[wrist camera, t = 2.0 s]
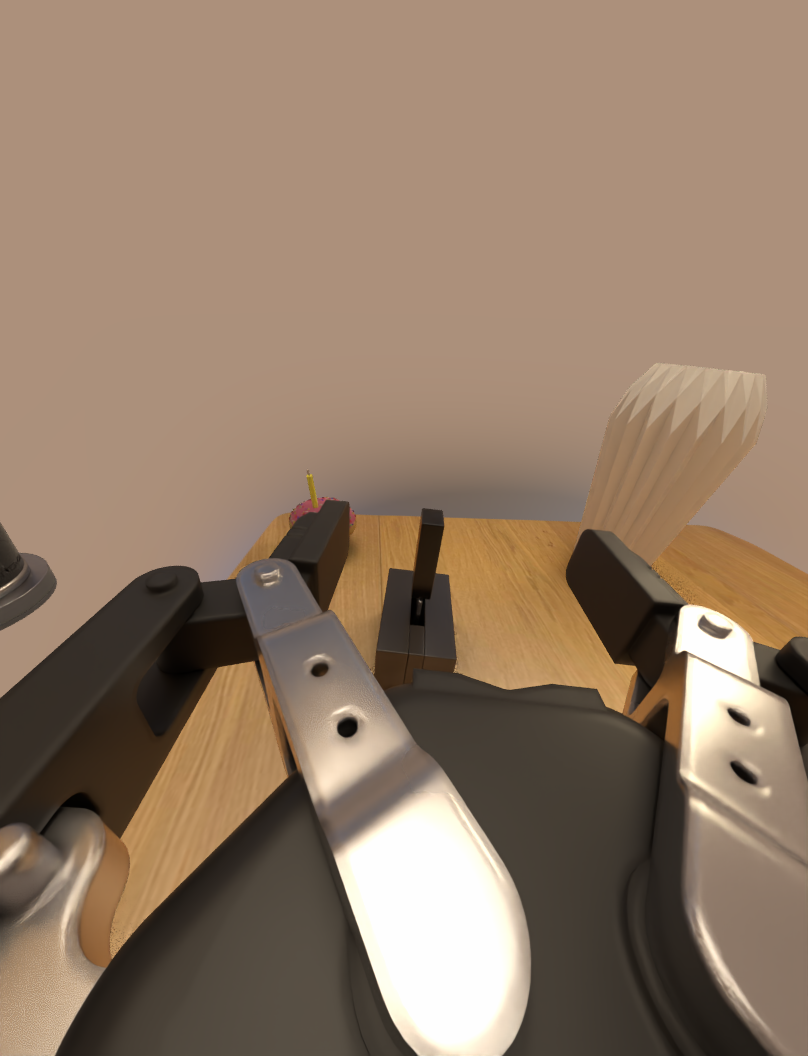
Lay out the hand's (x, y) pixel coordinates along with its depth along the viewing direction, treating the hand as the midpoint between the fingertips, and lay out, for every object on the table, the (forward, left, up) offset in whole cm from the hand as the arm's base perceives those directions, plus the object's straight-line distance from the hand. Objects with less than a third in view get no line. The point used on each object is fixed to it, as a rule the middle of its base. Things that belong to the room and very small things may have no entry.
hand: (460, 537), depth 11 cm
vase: (+35, +16, -20) cm, 44 cm away
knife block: (+4, +10, -20) cm, 23 cm away
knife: (+4, +10, -20) cm, 23 cm away
